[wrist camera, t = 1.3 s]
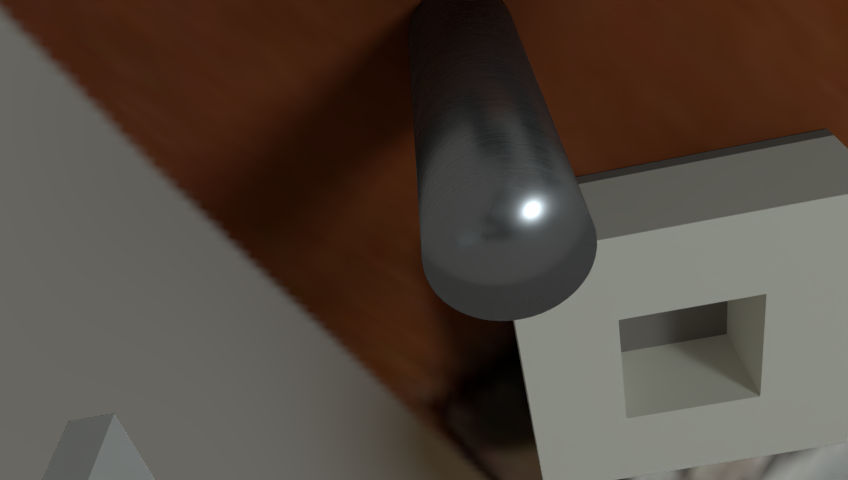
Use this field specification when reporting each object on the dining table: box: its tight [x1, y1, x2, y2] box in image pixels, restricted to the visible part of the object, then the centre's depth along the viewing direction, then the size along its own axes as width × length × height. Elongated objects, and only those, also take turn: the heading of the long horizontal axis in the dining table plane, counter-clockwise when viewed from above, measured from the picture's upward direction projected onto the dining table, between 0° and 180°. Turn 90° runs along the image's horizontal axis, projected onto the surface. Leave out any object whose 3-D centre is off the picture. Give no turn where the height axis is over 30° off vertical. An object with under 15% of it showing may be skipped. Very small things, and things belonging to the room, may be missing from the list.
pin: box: [408, 0, 597, 321], centre depth 20 cm, size 3×3×12 cm
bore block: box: [513, 129, 848, 480], centre depth 30 cm, size 12×12×4 cm
